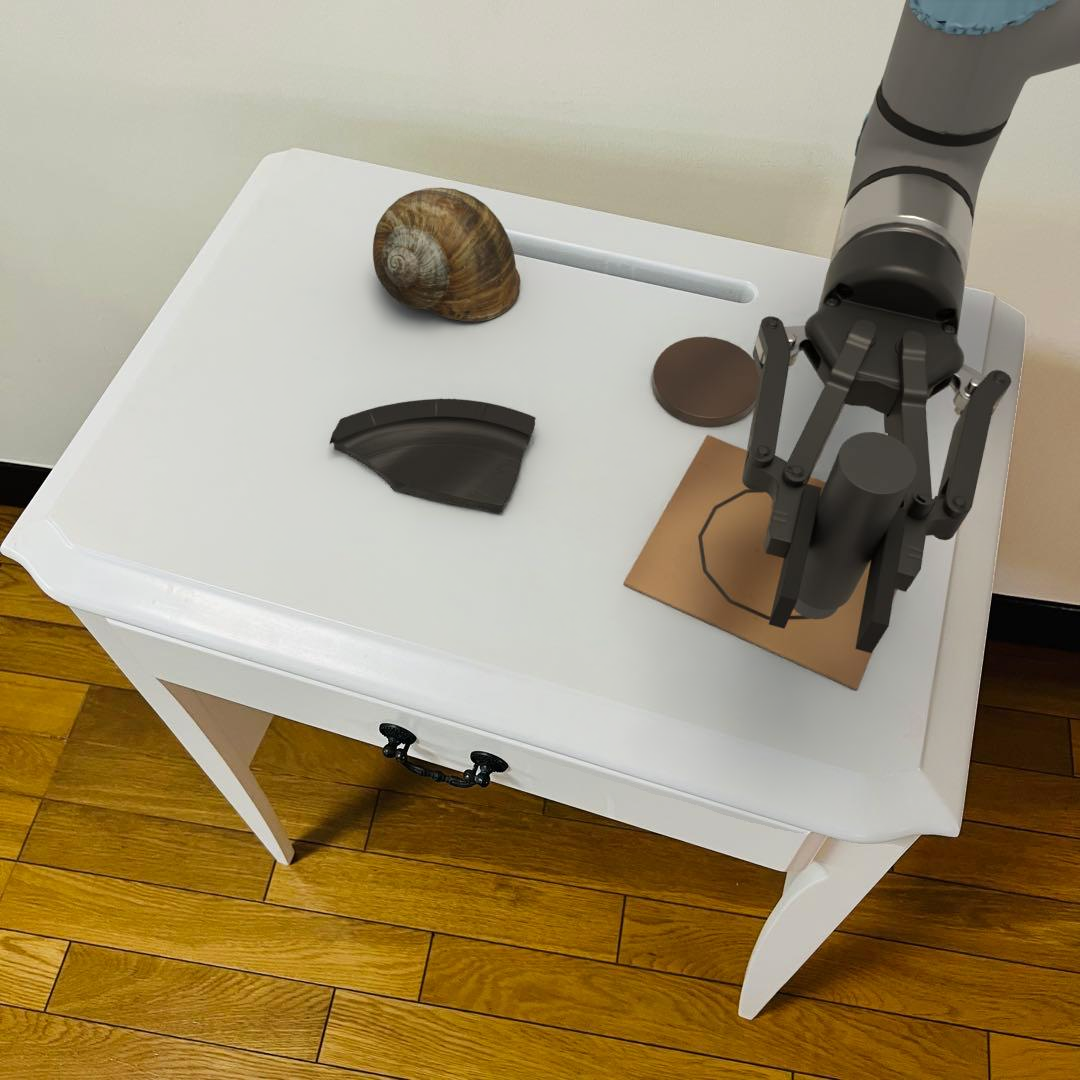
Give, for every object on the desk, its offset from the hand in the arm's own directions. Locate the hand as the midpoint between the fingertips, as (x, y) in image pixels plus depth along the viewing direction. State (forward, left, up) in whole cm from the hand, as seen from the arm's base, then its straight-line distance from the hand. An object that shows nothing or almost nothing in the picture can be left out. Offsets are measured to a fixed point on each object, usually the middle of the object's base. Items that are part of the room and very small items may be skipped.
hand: (827, 624), depth 47 cm
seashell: (+36, -25, -18) cm, 48 cm away
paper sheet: (+4, -14, -17) cm, 23 cm away
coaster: (+14, -26, -17) cm, 34 cm away
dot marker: (+1, -5, -7) cm, 9 cm away
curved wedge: (+28, -11, -18) cm, 35 cm away
